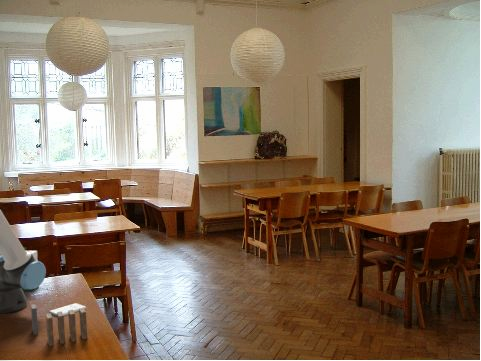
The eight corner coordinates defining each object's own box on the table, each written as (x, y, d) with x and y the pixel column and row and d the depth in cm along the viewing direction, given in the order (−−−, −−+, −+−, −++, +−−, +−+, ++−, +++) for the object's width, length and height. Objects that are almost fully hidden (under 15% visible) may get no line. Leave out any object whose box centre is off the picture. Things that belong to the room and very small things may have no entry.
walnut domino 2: (60, 344, 185) (58, 316, 184) (58, 339, 190) (57, 312, 189) (65, 343, 186) (63, 315, 185) (63, 338, 190) (61, 311, 190)
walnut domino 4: (83, 339, 189) (81, 312, 188) (80, 335, 193) (79, 308, 192) (87, 338, 189) (85, 311, 188) (85, 334, 194) (83, 307, 193)
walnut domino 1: (49, 346, 184) (47, 318, 183) (47, 341, 188) (45, 314, 187) (54, 345, 184) (52, 317, 183) (52, 340, 189) (50, 313, 188)
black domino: (33, 335, 195) (31, 308, 194) (32, 330, 199) (30, 304, 198) (38, 334, 195) (36, 307, 194) (37, 329, 200) (35, 304, 199)
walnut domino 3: (71, 341, 187) (70, 314, 186) (69, 337, 191) (68, 310, 190) (76, 340, 188) (74, 313, 187) (74, 336, 192) (72, 309, 191)
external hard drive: (48, 314, 218) (75, 306, 227) (59, 318, 213) (86, 309, 222) (48, 310, 218) (75, 302, 227) (59, 314, 213) (86, 306, 222)
